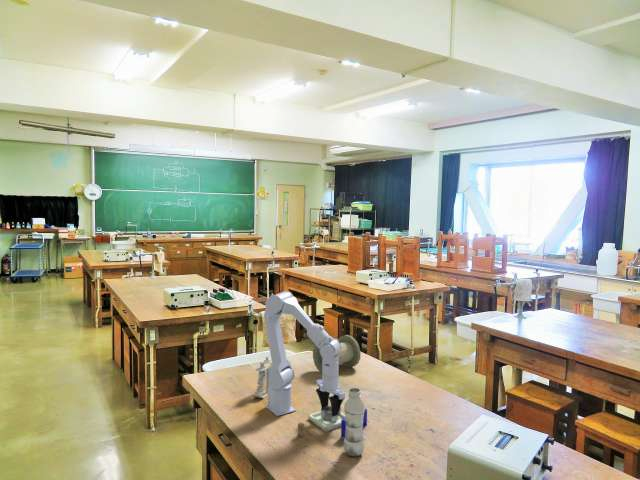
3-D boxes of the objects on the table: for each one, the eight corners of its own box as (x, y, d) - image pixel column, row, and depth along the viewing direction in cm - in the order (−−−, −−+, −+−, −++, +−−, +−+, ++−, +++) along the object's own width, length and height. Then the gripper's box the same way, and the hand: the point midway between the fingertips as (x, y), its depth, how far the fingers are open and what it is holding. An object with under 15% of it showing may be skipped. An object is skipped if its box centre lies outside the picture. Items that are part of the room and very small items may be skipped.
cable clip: (352, 441, 144) (352, 423, 143) (341, 437, 146) (341, 419, 146) (370, 427, 154) (370, 410, 153) (359, 423, 156) (359, 406, 156)
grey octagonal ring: (317, 416, 158) (318, 408, 158) (334, 411, 162) (334, 403, 162) (327, 422, 153) (327, 414, 153) (344, 417, 157) (344, 409, 157)
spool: (335, 379, 196) (335, 345, 195) (312, 369, 207) (313, 338, 206) (360, 370, 207) (360, 338, 206) (337, 361, 218) (338, 332, 217)
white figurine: (250, 400, 173) (250, 362, 172) (261, 390, 182) (261, 355, 181) (260, 401, 172) (260, 364, 171) (270, 392, 181) (270, 356, 180)
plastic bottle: (362, 447, 140) (363, 385, 139) (365, 459, 133) (366, 395, 132) (342, 447, 140) (343, 385, 138) (344, 459, 133) (345, 395, 132)
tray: (308, 418, 159) (308, 414, 159) (333, 411, 165) (333, 407, 165) (326, 431, 150) (326, 427, 150) (351, 423, 156) (351, 419, 156)
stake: (296, 435, 147) (296, 423, 147) (301, 433, 148) (301, 422, 148) (299, 437, 145) (299, 426, 145) (304, 436, 147) (305, 424, 146)
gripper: (309, 370, 160) (309, 406, 161) (333, 383, 148) (332, 422, 149) (325, 366, 164) (324, 402, 165) (350, 379, 152) (349, 417, 153)
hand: (329, 411), depth 157 cm, fingers closed on grey octagonal ring, 6 cm apart
